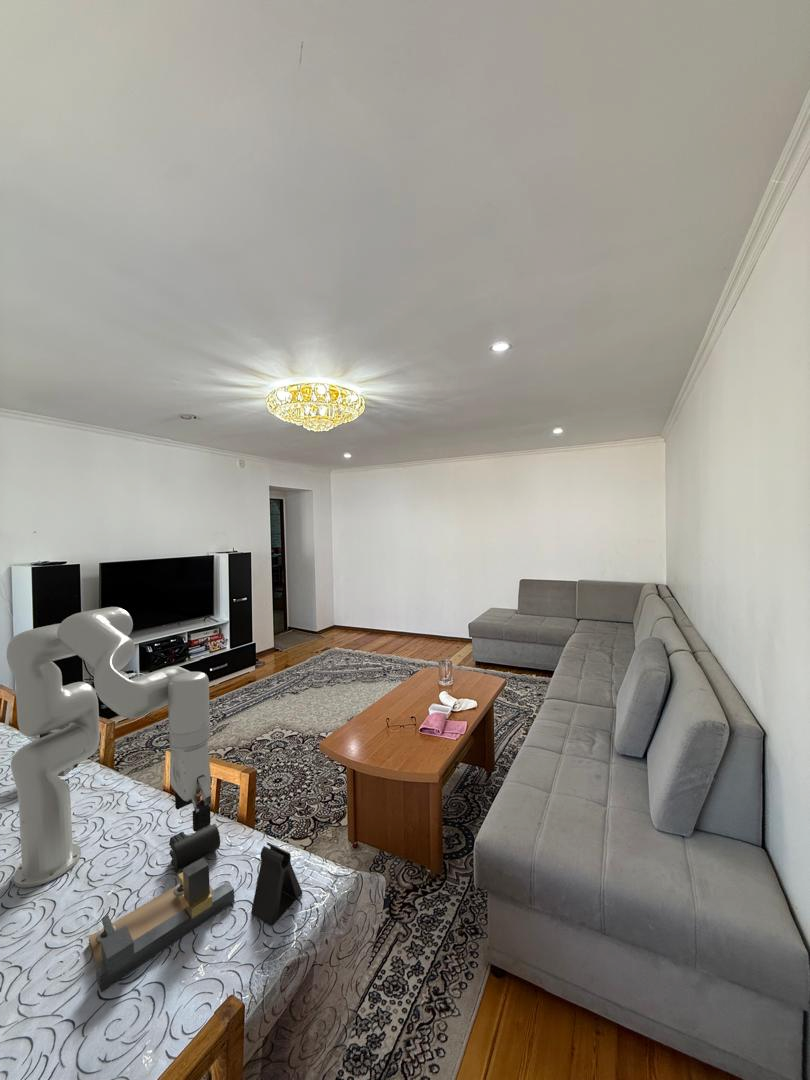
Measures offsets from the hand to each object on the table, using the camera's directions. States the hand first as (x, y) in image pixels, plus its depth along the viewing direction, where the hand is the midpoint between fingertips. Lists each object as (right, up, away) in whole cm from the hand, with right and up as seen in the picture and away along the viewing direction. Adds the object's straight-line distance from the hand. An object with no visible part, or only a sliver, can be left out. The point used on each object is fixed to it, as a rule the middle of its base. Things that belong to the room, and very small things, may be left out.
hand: (192, 816), depth 87 cm
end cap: (-8, -22, +17) cm, 29 cm away
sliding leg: (-2, -20, +3) cm, 20 cm away
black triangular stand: (+16, -22, +4) cm, 27 cm away
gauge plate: (-8, -22, +1) cm, 24 cm away
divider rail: (-5, -22, -1) cm, 23 cm away
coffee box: (-73, -23, +56) cm, 95 cm away
